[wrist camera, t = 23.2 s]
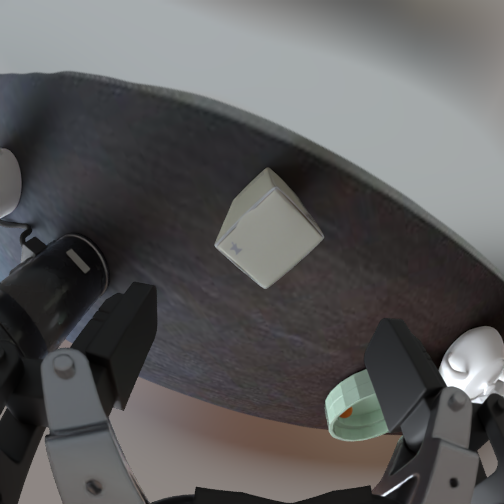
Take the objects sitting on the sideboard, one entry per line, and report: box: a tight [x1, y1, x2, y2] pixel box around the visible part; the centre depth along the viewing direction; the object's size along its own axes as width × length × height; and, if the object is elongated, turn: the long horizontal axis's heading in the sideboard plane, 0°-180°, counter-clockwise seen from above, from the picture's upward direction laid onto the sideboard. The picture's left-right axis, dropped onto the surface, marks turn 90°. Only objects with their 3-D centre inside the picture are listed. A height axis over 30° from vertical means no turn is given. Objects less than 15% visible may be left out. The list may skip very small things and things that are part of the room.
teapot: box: [439, 326, 504, 401], centre depth 31 cm, size 22×14×11 cm, turn 72°
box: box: [215, 167, 324, 288], centre depth 22 cm, size 5×4×13 cm
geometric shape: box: [471, 379, 504, 404], centre depth 35 cm, size 14×15×15 cm
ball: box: [340, 407, 353, 418], centre depth 39 cm, size 3×3×3 cm
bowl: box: [325, 369, 389, 441], centre depth 37 cm, size 15×15×6 cm
